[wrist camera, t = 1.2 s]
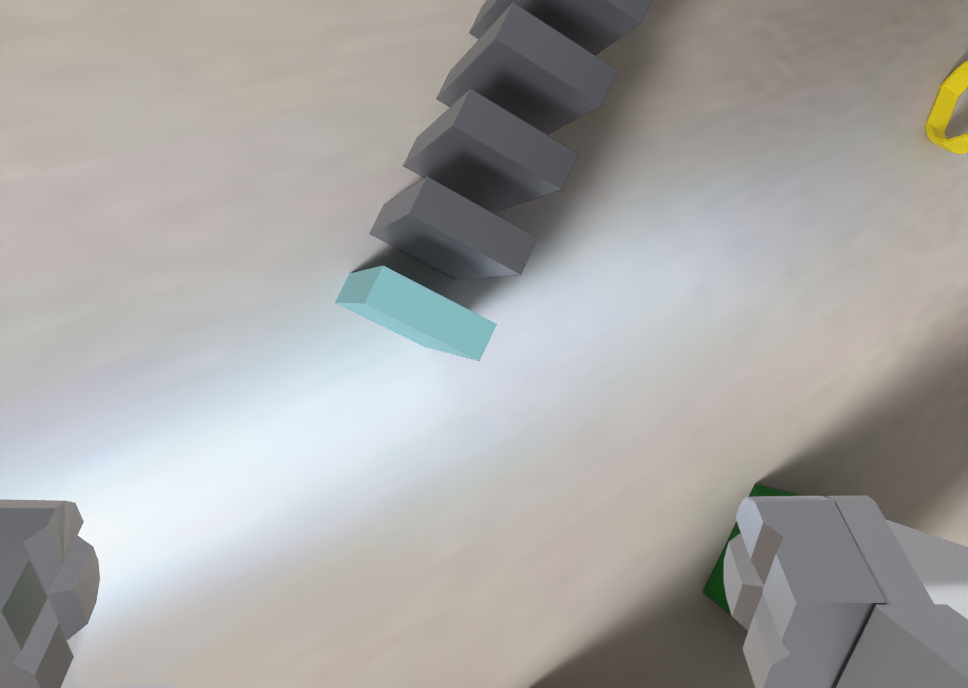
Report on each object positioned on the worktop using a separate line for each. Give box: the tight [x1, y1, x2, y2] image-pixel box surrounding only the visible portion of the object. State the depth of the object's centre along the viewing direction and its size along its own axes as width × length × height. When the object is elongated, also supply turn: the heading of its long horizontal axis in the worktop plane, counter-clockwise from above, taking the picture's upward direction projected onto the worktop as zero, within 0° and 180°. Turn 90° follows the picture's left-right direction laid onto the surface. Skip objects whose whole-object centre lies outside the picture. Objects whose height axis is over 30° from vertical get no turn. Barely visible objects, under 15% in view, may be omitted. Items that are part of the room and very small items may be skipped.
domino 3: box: [403, 89, 578, 213], centre depth 37 cm, size 2×5×10 cm, turn 63°
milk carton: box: [703, 484, 968, 619], centre depth 39 cm, size 9×9×20 cm
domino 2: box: [436, 3, 618, 135], centre depth 37 cm, size 2×5×10 cm, turn 63°
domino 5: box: [335, 266, 497, 361], centre depth 36 cm, size 2×5×10 cm, turn 63°
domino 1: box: [469, 0, 652, 55], centre depth 37 cm, size 2×5×10 cm, turn 63°
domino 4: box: [369, 177, 538, 280], centre depth 36 cm, size 2×5×10 cm, turn 63°
